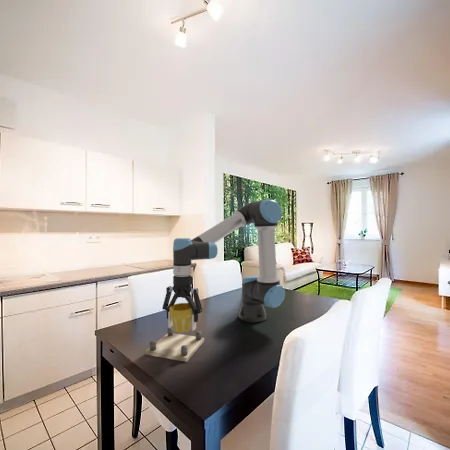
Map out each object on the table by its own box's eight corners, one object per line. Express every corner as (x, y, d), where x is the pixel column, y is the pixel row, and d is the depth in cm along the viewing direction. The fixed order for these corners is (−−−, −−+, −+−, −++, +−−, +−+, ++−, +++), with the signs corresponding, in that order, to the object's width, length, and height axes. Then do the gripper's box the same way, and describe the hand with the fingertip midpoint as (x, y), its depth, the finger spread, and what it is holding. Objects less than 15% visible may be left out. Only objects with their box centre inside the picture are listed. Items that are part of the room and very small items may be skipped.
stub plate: (204, 341, 113) (204, 331, 113) (186, 361, 96) (186, 349, 96) (168, 335, 118) (168, 326, 118) (145, 354, 101) (145, 343, 101)
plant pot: (164, 332, 103) (164, 308, 103) (178, 323, 113) (178, 301, 113) (186, 336, 99) (186, 311, 99) (198, 327, 109) (198, 304, 109)
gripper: (153, 275, 106) (153, 328, 106) (204, 278, 99) (203, 335, 99) (163, 271, 113) (163, 321, 113) (210, 274, 106) (210, 327, 106)
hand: (182, 327), depth 106 cm, fingers closed on plant pot, 10 cm apart
